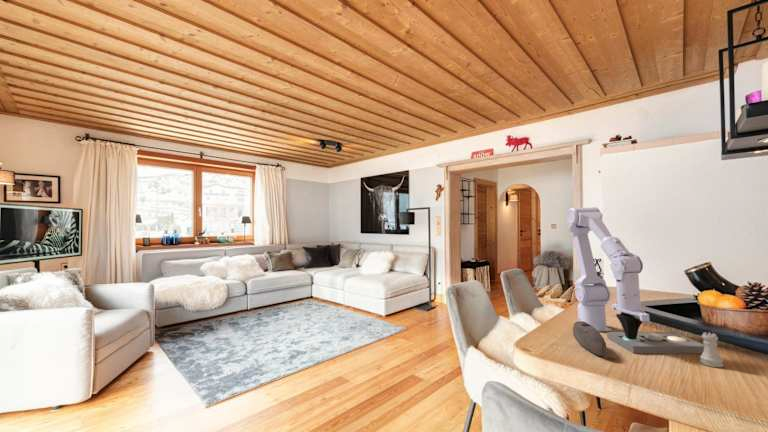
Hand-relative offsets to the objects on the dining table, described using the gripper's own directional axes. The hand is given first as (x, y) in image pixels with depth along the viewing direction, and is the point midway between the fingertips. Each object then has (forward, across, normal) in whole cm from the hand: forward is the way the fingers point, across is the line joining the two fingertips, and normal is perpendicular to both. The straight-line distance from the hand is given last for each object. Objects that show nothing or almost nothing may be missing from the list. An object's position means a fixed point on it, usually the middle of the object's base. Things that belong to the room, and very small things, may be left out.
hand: (631, 338), depth 100 cm
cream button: (+1, 0, -13) cm, 13 cm away
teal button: (+1, 0, 0) cm, 1 cm away
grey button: (0, 0, -6) cm, 6 cm away
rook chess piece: (+2, -14, -11) cm, 18 cm away
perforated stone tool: (+2, -4, +14) cm, 15 cm away
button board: (+2, 0, -6) cm, 7 cm away
